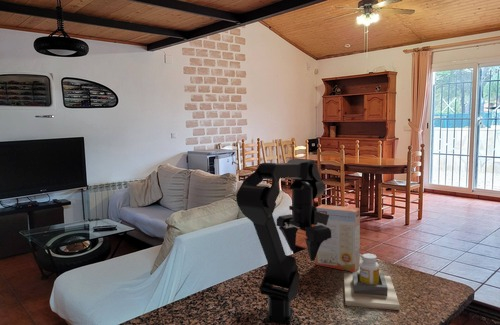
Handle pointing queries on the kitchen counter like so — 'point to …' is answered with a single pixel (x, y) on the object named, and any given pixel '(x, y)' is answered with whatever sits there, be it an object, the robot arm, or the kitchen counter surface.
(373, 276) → the supplement bottle
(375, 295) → the collar board
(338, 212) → the cracker box
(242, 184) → the robot arm
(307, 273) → the kitchen counter surface
